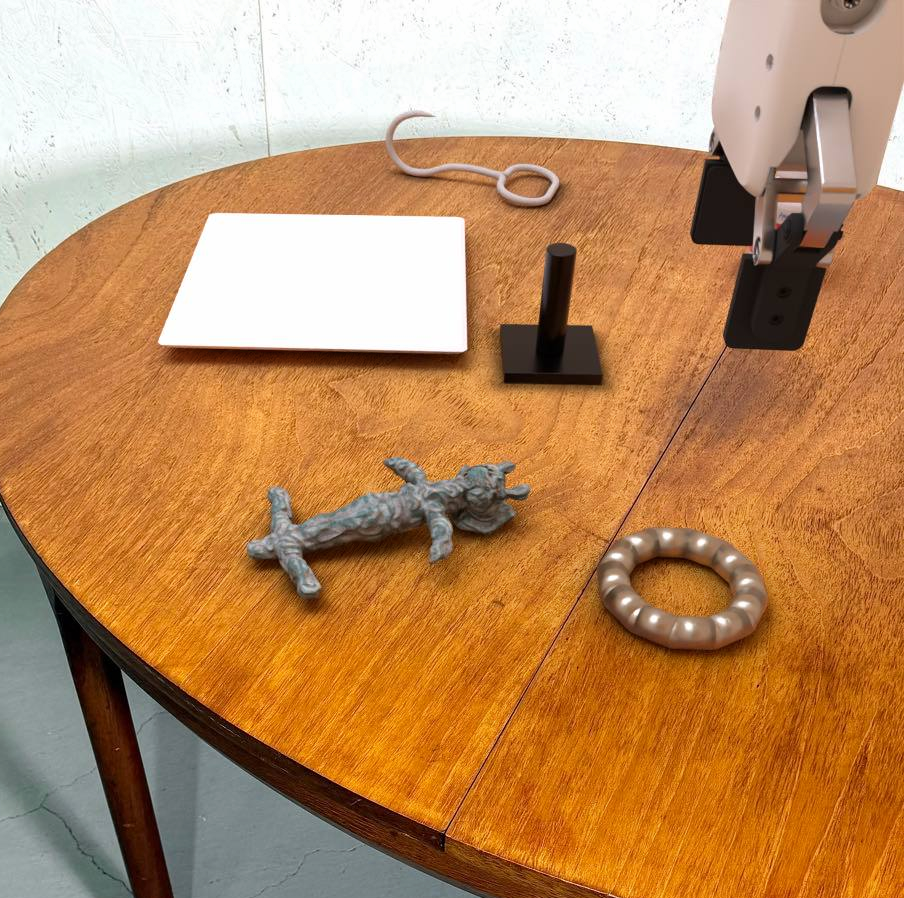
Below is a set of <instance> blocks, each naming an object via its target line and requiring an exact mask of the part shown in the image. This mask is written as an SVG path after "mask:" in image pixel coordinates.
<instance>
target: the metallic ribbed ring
mask: <svg viewBox="0 0 904 898" xmlns="http://www.w3.org/2000/svg"><path fill="white" fill-rule="evenodd" d="M654 558H680V559H681V558H682V559H687V560H688V561H692V562H694V563H697V564H699V565H703V566H705V567H708V568H711V569H712V570H713V571H714V572H715V573H717V574H718V575H719V576H720V577H721V578H722V579H723V580H724V581H725V582H727V583H728V584H729V588H730V591H731V594H732V599H731V601H730V603H729V605H728V607H727V608H725V609H723V610H721V611H718V612H716V613H714V614H711V615H708V616H691V615H687V616H686V615H676V614H673V613H671V612H668V611H666V610H664V609H662V608H661V609H660V608H658V607H656V606H654V605H651V604H649V603H647V601H646V600H644V599H643V598H642V597H641V595H639V594H638V593H637V592H636V591H635V590H634V589H633V587H632V583H631V578H630V575H631V573H632V572H633V570H634V569H635V567H636V566H637V565H639V564H641V563H644V562H647V561H649V560H651V559H654ZM762 577H763V576H762V574H761V572H760V569H759V567H758V566H757V565H756V564H755V563H754V562H753V561H752V560H751V559H749V557H748V556H746V555H745V554H743V552H742V551H740V550H739V549H738V548H736V546H734V545H733V544H732V543H731V542H729V541H727V540H725V539H723V538H719V537H717V536H714V535H711V534H709V533H705V532H702V531H700V530H697V529H695V528H691V527H673V526H668V527H666V526H649V527H647V528H643V529H641V530H638V531H636V532H633V533H631V534H628V535H625V536H622V537H620V538H618V539H616V540H615V541H614V542H613V543H612V545H610V547H609V549H607V551H606V553H605V554H604V556H603V557H602V559H601V560H600V562H599V563H598V565H597V567H596V579H597V582H598V591H599V595H600V600H601V603H602V605H603V606H604V607H605V609H607V610H608V611H609V612H610V614H611V615H613V617H614V618H615V619H616V620H618V622H619V623H620V624H621V625H622V626H623V627H624V628H625V629H626V630H627V631H629V632H630V633H632V634H634V635H635V636H639V637H641V638H643V639H646V640H648V641H651V642H653V643H656V644H658V645H660V646H663V647H666V648H668V649H672V650H701V651H702V650H703V651H715V650H718V649H721V648H724V647H727V646H728V645H730V644H732V643H736V642H737V641H739V640H742V639H744V638H746V637H749V636H750V635H752V634H753V633H754V632H755V630H756V629H757V627H758V625H759V623H760V621H761V619H762V617H763V615H764V613H765V611H766V609H767V607H768V604H769V596H768V592H767V590H766V587H765V584H764V580H763V578H762Z"/></svg>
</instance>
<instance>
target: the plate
mask: <svg viewBox="0 0 904 898" xmlns="http://www.w3.org/2000/svg"><path fill="white" fill-rule="evenodd" d="M465 221H466V220H465V218H463V217H460V216H428V215H427V216H425V215H423V216H422V215H364V214H361V215H360V214H359V215H358V214H354V215H353V214H349V215H348V214H307V213H306V214H305V213H304V214H300V213H299V214H298V213H297V214H296V213H295V214H294V213H287V214H286V213H241V212H240V213H239V212H238V213H237V212H236V213H235V212H234V213H233V212H232V213H231V212H215V213H210V214H208V217H207V219H206V222H205V225H204V227H203V229H202V232H201V234H200V236H199V239H198V242H197V244H196V247H195V248H194V251H193V254H192V256H191V259H190V261H189V264H188V266H187V269H186V272H185V273H184V277H183V279H182V281H181V284H180V286H179V289H178V292H177V293H176V296H175V299H174V301H173V304H172V306H171V308H170V311H169V314H168V316H167V319H166V321H165V323H164V326H163V328H162V331H161V333H160V336H159V338H158V341H157V343H158V344H159V345H161V346H162V347H165V348H176V349H177V348H179V349H183V348H184V349H221V350H223V349H226V350H227V349H228V350H266V351H267V350H270V351H309V352H310V351H311V352H312V351H313V352H316V351H317V352H355V353H357V352H358V353H393V354H394V353H397V354H398V353H400V354H406V353H407V354H436V355H437V354H438V355H439V354H440V355H441V354H442V355H444V354H445V355H459V354H461V353H464V352H465V351H467V350H468V323H467V318H468V317H467V277H466V276H467V275H466V272H467V270H466V269H467V267H466V225H465V223H466V222H465Z"/></svg>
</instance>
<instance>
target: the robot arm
mask: <svg viewBox="0 0 904 898" xmlns="http://www.w3.org/2000/svg"><path fill="white" fill-rule="evenodd" d="M720 42H721V43H720V46H719V47H720V48H719V53H718V58H717V62H716V63H717V64H716V69H715V76H714V79H713V89H712V94H711V95H712V96H711V119H712V120H711V121H712V124H713V128H712V131H711V132H710V136H709V141H708V156H709V157H714V158H705V159H704V162H703V168H702V172H701V178H700V181H699V187H698V192H697V197H696V201H695V207H694V211H693V216H692V221H691V226H690V230H689V235H690V239H691V242H692V243H693V244H695V245H698V246H699V245H703V246H730V247H749V246H753V252H752V254H748V252H747V253H742V254H741V258H740V262H739V266H738V270H737V275H736V277H735V278H736V279H735V283H734V287H733V291H732V295H731V300H730V303H729V307H728V311H727V314H726V320H725V323H724V328H723V332H722V338H723V341H724V344H725V346H726V347H727V348H729V349H732V350H733V349H734V350H758V351H761V350H762V351H779V352H780V351H781V352H782V351H783V352H795V351H798V350H800V349H802V347H803V346H804V344H805V342H806V339H807V335H808V332H809V329H810V325H811V322H812V319H813V315H814V312H815V309H816V306H817V302H818V298H819V296H820V292H821V289H822V285H823V281H824V279H825V276H826V273H827V269H828V268H829V267H830V266H831V264H832V262H833V259H834V255H835V248H836V246H837V244H838V243H839V241H841V240H842V239H843V236H844V232H845V231H844V230H842V228H844V226H845V225H844V221H845V220H846V218H847V216H848V215H849V213H850V211H851V210H852V207H854V204H855V202H856V201H858V200H859V201H860V200H863V199H864V198H865V197H867V196H868V195H869V194H870V193H871V192H872V191H873V190H874V188H875V187H876V183H877V181H878V177H879V174H880V171H881V168H882V165H883V161H884V159H885V158H884V157H885V153H886V150H887V147H888V143H889V139H890V135H891V133H892V132H891V131H892V128H893V125H894V120H895V117H896V113H897V110H898V106H899V102H900V98H901V96H902V95H901V94H902V90H903V87H904V0H730V1H729V4H728V9H727V14H726V18H725V22H724V27H723V33H722V37H721V41H720ZM777 171H795V172H807V179H800V178H775V177H776V175H777ZM778 202H785V203H801V206H802V211H801V213H791V214H790V215H789V216H788V217H787V218H786V219H785V221H784V222H783V223H782V224H781V225H780V226H779V227H778V229H777V230H776V222H777V205H778Z"/></svg>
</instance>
